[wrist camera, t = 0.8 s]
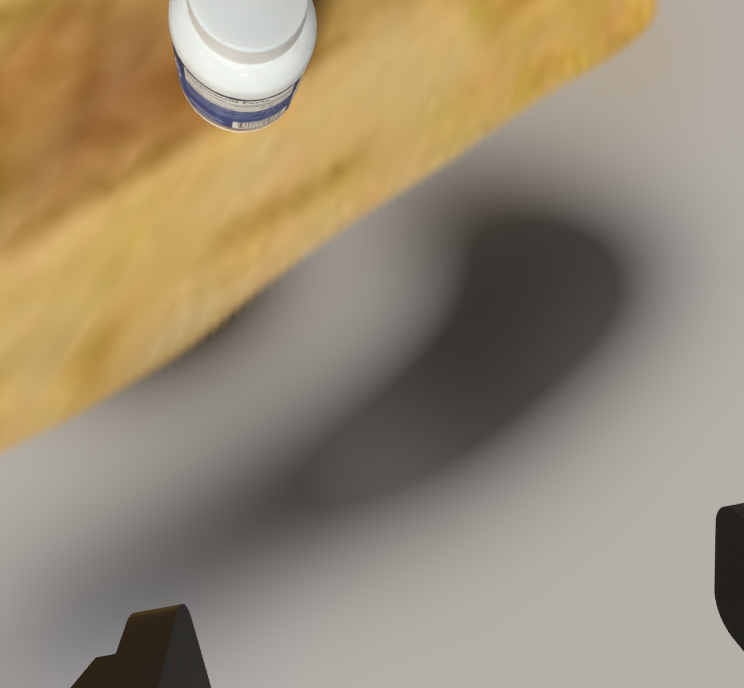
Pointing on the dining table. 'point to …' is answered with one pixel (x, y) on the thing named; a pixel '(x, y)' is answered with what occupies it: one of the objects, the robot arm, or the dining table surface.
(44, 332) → the dining table surface
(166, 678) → the robot arm
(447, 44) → the dining table surface
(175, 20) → the pill bottle
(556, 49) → the dining table surface
